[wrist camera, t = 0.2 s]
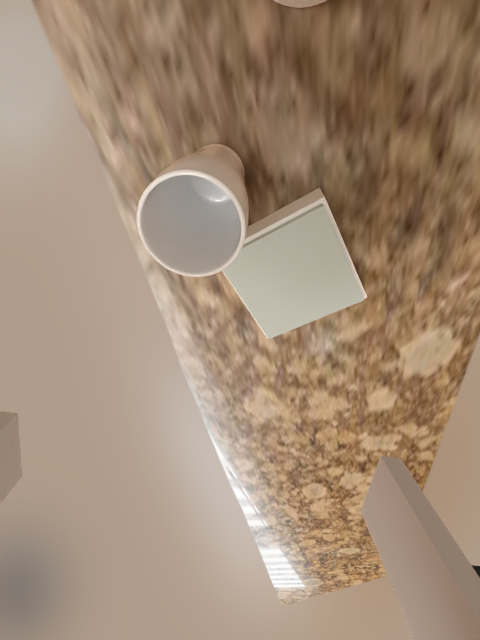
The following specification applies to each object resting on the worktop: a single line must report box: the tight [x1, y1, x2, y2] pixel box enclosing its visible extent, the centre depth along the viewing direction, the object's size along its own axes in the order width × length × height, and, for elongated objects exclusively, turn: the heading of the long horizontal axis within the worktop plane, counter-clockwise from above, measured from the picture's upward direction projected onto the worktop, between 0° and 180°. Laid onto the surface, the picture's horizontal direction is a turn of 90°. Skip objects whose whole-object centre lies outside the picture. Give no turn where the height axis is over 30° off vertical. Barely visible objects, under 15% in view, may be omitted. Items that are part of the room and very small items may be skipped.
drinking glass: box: [137, 144, 249, 277], centre depth 26 cm, size 7×7×15 cm
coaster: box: [222, 187, 367, 339], centre depth 36 cm, size 12×12×4 cm
